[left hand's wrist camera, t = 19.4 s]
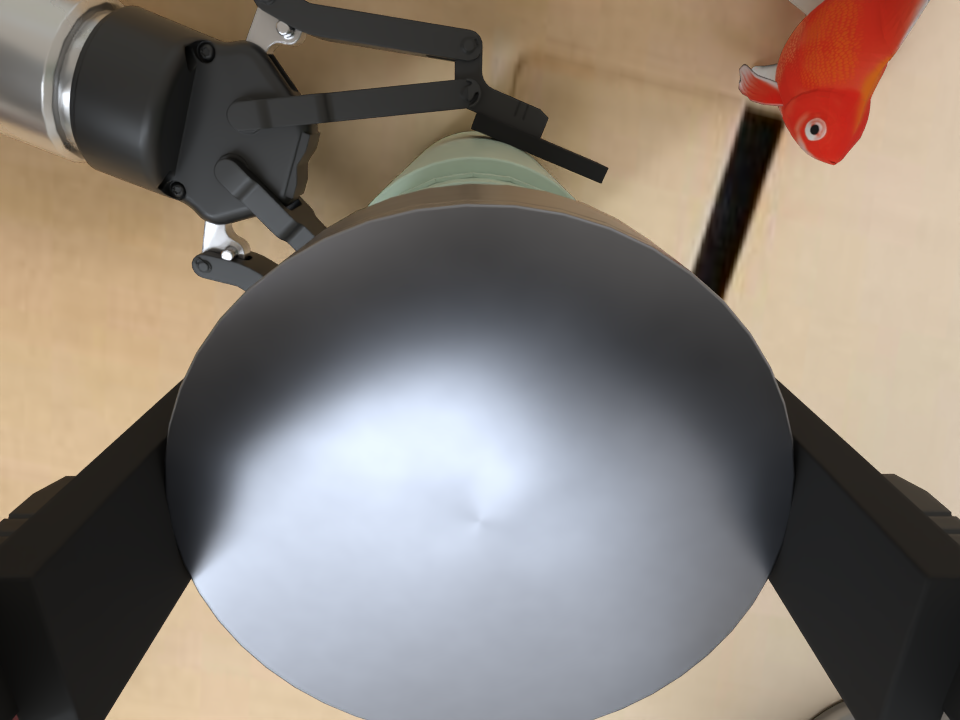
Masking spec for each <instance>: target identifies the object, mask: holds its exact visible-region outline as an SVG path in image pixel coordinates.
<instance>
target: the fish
mask: <svg viewBox="0 0 960 720" xmlns="http://www.w3.org/2000/svg"><path fill="white" fill-rule="evenodd" d="M789 1H790V2H791V3H792V4H793V5H795V6H796V7H797V8H799V9H800V10H801V11H802V12H803V13H805V14H806V17H805V18H804V19H803V20H802V21H801V22H800V23H799V25H798V26H797V27H796V29H795V30H794V31H793V33H792V34H791V36H790V37H789V39H788V41H787V42H786V44H785V46H784V48H783V50H782V53H781V55H780V58H779V61H778V63H777V64H773V65H768V66H754V67H753V68H752V69H750V68H749V67H748V66H747V65H746V64H744V65H742V67H741V68H740V69H739V71H740V81H739V90H740V91H741V93H742V94H743V95H745V96H747V97H748V98H749V99H750V100H751V101H753V102H756V103H760V104H763V105H774V106H779V110H780V112H781V115H782V117H783V120H784V123H785V125H786V127H787V128H788V130H789V131H790V133H791V135H792V137H793V138H794V140H795V141H796V142H797V144H798V145H799V146H800V147H801V148H802V149H803V150H804V151H805V152H806V153H807V154H808V155H810V156H811V157H813V158H815V159H817V160H820V161H822V162H825V163H828V164H831V165H835V164H837V163H838V162H840V161H841V160H842V159H843V158H844V157H845V156H846V154H847V153H848V152H849V151H850V149H851V148H852V147H853V146H854V145H855V144H856V142H857V141H858V140H859V139H860V138H861V135H862V133H863V131H864V129H865V126H866V123H867V120H868V116H869V111H870V99H871V97H872V94H873V92H874V90H875V88H876V86H877V84H878V82H879V80H880V78H881V77H882V75H883V73H884V71H885V69H886V66H887V63H888V61H890V59H891V58H892V57H893V56H894V54H895V53H896V52H897V50H898V49H899V47H900V46H901V44H902V43H903V41H904V40H905V38H906V37H907V35H908V34H909V32H910V31H911V29H912V27H913V26H914V24H915V23H916V21H917V20H918V18H919V17H920V15H921V14H922V12H923V10H924V9H925V7H926V6H927V4H928V2H929V1H930V0H789Z"/></svg>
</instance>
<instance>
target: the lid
mask: <svg viewBox="0 0 960 720" xmlns="http://www.w3.org/2000/svg"><path fill="white" fill-rule="evenodd" d="M164 464H165V494H166V499H167V504H168V509H169V513H170V518H171V522H172V527H173V532H174V536H175V539H176V543H177V546H178V549H179V552H180V555H181V557H182V560H183V563H184V565H185V567H186V569H187V571H188V573H189V575H190V577H191V579H192V580H193V582H194V584H195V586H196V588H197V590H198V592H199V594H200V595H201V597H202V598H203V599H204V601H205V602H206V604H207V605H208V607H209V608H210V609H211V611H212V612H213V614H214V615H215V617H216V618H217V619H218V621H219V622H220V623H221V624H222V625H223V626H224V627H225V629H226V630H227V631H228V632H229V633H230V634H231V635H232V636H233V637H234V638H235V640H236V641H237V642H238V643H239V644H240V645H241V646H242V647H243V648H244V649H245V650H247V651H248V652H249V653H250V654H251V655H252V656H253V657H255V658H256V659H257V660H258V661H259V662H260V663H261V664H263V665H264V666H265V667H266V668H267V669H269V670H270V671H272V672H273V673H275V674H276V675H278V676H279V677H280V678H282V679H283V680H285V681H286V682H288V683H289V684H291V685H292V686H293V687H295V688H297V689H299V690H301V691H302V692H304V693H306V694H308V695H310V696H312V697H314V698H315V699H317V700H319V701H321V702H323V703H325V704H327V705H329V706H332V707H334V708H337V709H339V710H341V711H344V712H346V713H349V714H351V715H353V716H356V717H359V718H362V719H366V720H594V719H597V718H599V717H602V716H605V715H607V714H610V713H613V712H616V711H618V710H621V709H623V708H625V707H627V706H629V705H631V704H633V703H635V702H638V701H640V700H642V699H644V698H646V697H648V696H650V695H652V694H654V693H655V692H657V691H658V690H660V689H662V688H663V687H665V686H666V685H668V684H670V683H671V682H673V681H674V680H676V679H678V678H679V677H681V676H682V675H683V674H685V673H686V672H687V671H688V670H690V669H691V668H692V667H693V666H695V665H696V664H697V663H699V662H700V661H701V660H702V659H704V658H705V657H706V656H707V655H708V654H709V653H710V652H712V651H713V650H714V649H715V648H716V647H717V646H718V645H719V644H720V643H721V642H722V641H723V640H724V639H725V638H726V637H727V636H728V635H729V634H730V633H731V632H732V630H733V629H734V628H735V627H736V625H737V624H738V623H739V621H740V620H741V619H742V618H743V616H744V615H745V614H746V612H747V611H748V610H749V609H750V607H751V606H752V605H753V603H754V601H755V600H756V598H757V596H758V595H759V593H760V591H761V590H762V588H763V586H764V585H765V583H766V581H767V579H768V578H769V576H770V574H771V572H772V569H773V567H774V564H775V562H776V560H777V557H778V555H779V552H780V550H781V548H782V545H783V541H784V536H785V532H786V528H787V523H788V519H789V515H790V510H791V505H792V500H793V491H794V481H795V467H794V449H793V437H792V433H791V428H790V424H789V419H788V414H787V410H786V405H785V402H784V399H783V397H782V394H781V392H780V389H779V387H778V384H777V381H776V379H775V376H774V374H773V371H772V369H771V367H770V365H769V363H768V362H767V360H766V358H765V357H764V355H763V353H762V352H761V350H760V348H759V346H758V345H757V343H756V341H755V340H754V338H753V336H752V335H751V333H750V332H749V331H748V329H747V328H746V327H745V326H744V325H743V323H742V322H741V321H740V320H739V318H738V317H737V316H736V315H735V314H734V312H733V311H732V310H731V309H730V308H729V306H728V305H727V304H726V303H725V302H724V300H722V299H721V298H720V297H719V296H718V295H717V294H716V293H715V292H713V291H712V290H711V289H710V288H709V287H708V286H707V285H706V284H704V283H703V282H702V281H701V280H700V279H699V278H698V277H697V276H695V275H694V274H693V273H692V272H691V271H690V270H688V269H687V268H686V267H684V266H683V265H682V264H680V263H679V262H678V261H676V260H675V259H674V258H672V257H671V256H670V255H669V254H667V253H666V252H665V251H663V250H662V249H661V248H659V247H658V246H657V245H655V244H654V243H653V242H651V241H650V240H649V239H647V238H646V237H644V236H643V235H641V234H640V233H638V232H637V231H635V230H634V229H632V228H631V227H629V226H628V225H626V224H625V223H623V222H622V221H620V220H618V219H617V218H614V217H612V216H610V215H608V214H606V213H604V212H602V211H600V210H598V209H595V208H593V207H591V206H589V205H587V204H585V203H582V202H579V201H576V200H573V199H569V198H566V197H563V196H560V195H556V194H553V193H550V192H547V191H541V190H535V189H529V188H523V187H517V186H511V185H491V184H462V185H453V186H443V187H434V188H427V189H423V190H419V191H415V192H411V193H407V194H403V195H399V196H395V197H391V198H389V199H386V200H384V201H381V202H379V203H376V204H374V205H371V206H369V207H366V208H364V209H361V210H359V211H356V212H354V213H353V214H351V215H349V216H347V217H346V218H344V219H342V220H340V221H339V222H337V223H335V224H333V225H332V226H330V227H328V228H326V229H325V230H323V231H322V232H320V233H319V234H318V235H317V236H315V237H314V238H313V239H311V240H310V241H309V242H307V243H306V244H305V245H304V246H302V247H301V248H300V249H298V250H297V251H296V252H294V253H293V254H292V255H291V256H289V257H288V258H287V259H285V260H284V261H283V262H281V263H280V264H279V265H278V266H276V267H275V268H274V269H272V270H271V271H270V272H269V273H267V274H266V275H265V276H264V277H262V278H261V279H260V280H258V281H257V282H256V283H255V284H253V285H252V286H251V287H249V288H248V289H247V290H246V292H245V293H244V294H243V295H242V296H241V297H240V298H239V299H238V300H237V301H236V302H235V303H234V304H233V305H232V306H231V307H230V308H229V309H228V311H227V312H226V313H225V314H224V315H223V316H222V317H221V318H220V319H219V321H218V322H217V323H216V325H215V326H214V328H213V329H212V331H211V332H210V334H209V335H208V336H207V338H206V339H205V341H204V342H203V344H202V345H201V347H200V348H199V349H198V351H197V352H196V354H195V357H194V359H193V361H192V363H191V365H190V367H189V369H188V371H187V373H186V375H185V377H184V380H183V382H182V384H181V386H180V388H179V392H178V395H177V398H176V402H175V405H174V409H173V412H172V415H171V419H170V422H169V428H168V436H167V444H166V452H165V460H164Z"/></svg>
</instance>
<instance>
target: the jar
mask: <svg viewBox="0 0 960 720" xmlns="http://www.w3.org/2000/svg"><path fill="white" fill-rule="evenodd" d="M462 184H491V185H511V186H517V187H523V188H529V189H535V190H541V191H547V192H550V193H553V194H556V195H560V196H563V197H566V198H569V199H573V200H575V199H574V198H573V197H572V196H571V195H570V194H569V193H568V192H567V191H566V190H565V189H564V188H563V187H562V186H561V185H560V184H559V183H558V182H557V181H556V180H555V179H554V178H553V177H552V176H551V175H550V174H549V173H548V172H547V171H546V170H545V169H544V168H543V167H542V166H541V165H540V164H539V163H538V162H537V161H536V160H535V159H534V158H533V157H532V156H531V155H530V154H529V153H527V152H525V151H523V150H520V149H518V148H516V147H513V146H511V145H508V144H506V143H504V142H501V141H499V140H497V139H494V138H492V137H489V136H487V135H485V134H482V133H480V132H478V131H469V132H461V133H457V134H453V135H450V136H447V137H445V138H443V139H441V140H439V141H437V142H435V143H434V144H432V145H431V146H430V147H428V148H427V149H426V150H425V151H424V152H422V153H421V154H420V155H419V156H418V157H417V158H416V159H415V160H414V161H413V162H412V163H411V164H410V165H409V166H408V167H407V168H406V169H405V170H404V171H403V172H402V173H401V174H399V175H398V176H397V177H396V178H395V179H394V180H393V181H392V182H391V183H390V184H389V185H388V186H387V187H386V188H385V189H384V190H383V191H382V192H381V193H380V194H379V195H378V196H377V197H376V198H375V199H374V200H373V201H372V202H371V203H370V204H369V205H368V207H369V206H371V205H374V204H376V203H379V202H381V201H384V200H386V199H389V198H391V197H395V196H399V195H403V194H407V193H411V192H415V191H419V190H423V189H427V188H434V187H443V186H453V185H462Z"/></svg>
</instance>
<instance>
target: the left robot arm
mask: <svg viewBox="0 0 960 720" xmlns="http://www.w3.org/2000/svg"><path fill="white" fill-rule="evenodd" d="M775 379H776V378H775ZM183 380H184V379H183ZM183 380H181V381H180V382H179V383H178V384H177V385H176V386H175V387H174V388H173V389H171V390H170V391H169V392H168V393H167V394H166V395H165V396H164V397H163V398H162V399H160V400H159V401H158V402H157V403H156V404H155V405H154V406H153V407H152V408H151V409H149V410H148V411H147V412H146V413H145V414H144V415H143V416H142V417H141V418H139V419H138V420H137V421H136V422H135V423H134V424H133V425H132V426H131V427H130V428H128V429H127V430H126V431H125V432H124V433H123V434H122V435H121V436H120V437H119V438H117V439H116V440H115V441H114V442H113V443H112V444H111V445H110V446H109V447H107V448H106V449H105V450H104V451H103V452H102V453H101V454H100V455H99V456H98V457H96V458H95V459H94V460H93V461H92V462H91V463H90V464H89V465H88V466H86V467H85V468H84V469H83V470H82V471H81V472H80V473H79V474H78V475H77V476H65V477H63V478H62V479H60V480H58V481H56V482H54V483H52V484H50V485H49V486H47V487H45V488H43V489H41V490H39V491H37V492H36V493H34V494H32V495H31V496H30V497H29V498H28V499H26V500H25V501H24V502H23V503H22V504H21V505H19V506H18V507H17V508H16V509H15V510H14V511H12V512H11V513H10V514H9V518H8V519H3V520H2V521H1V522H0V720H12V719H13V718H14V717H15V716H16V714H17V717H18V719H19V720H105V718H106V716H107V715H108V713H109V712H110V710H111V708H112V707H113V705H114V703H115V702H116V700H117V699H118V697H119V695H120V694H121V692H122V690H123V689H124V687H125V686H126V684H127V682H128V681H129V679H130V677H131V676H132V674H133V673H134V671H135V669H136V668H137V666H138V664H139V663H140V661H141V660H142V658H143V656H144V655H145V653H146V651H147V650H148V648H149V647H150V645H151V643H152V642H153V640H154V638H155V637H156V635H157V634H158V632H159V630H160V629H161V627H162V625H163V624H164V622H165V621H166V619H167V617H168V616H169V614H170V612H171V611H172V609H173V608H174V606H175V604H176V603H177V601H178V599H179V598H180V596H181V595H182V593H183V591H184V590H185V588H186V586H187V585H188V583H189V582H190V580H191V577H190V575H189V573H188V571H187V569H186V567H185V565H184V563H183V560H182V557H181V555H180V552H179V549H178V546H177V543H176V539H175V536H174V532H173V527H172V522H171V518H170V513H169V509H168V504H167V499H166V494H165V464H164V460H165V452H166V444H167V436H168V428H169V422H170V419H171V415H172V412H173V409H174V405H175V402H176V398H177V395H178V392H179V388H180V386H181V384H182V382H183ZM776 381H777V384H778V387H779V389H780V392H781V394H782V397H783V399H784V402H785V405H786V410H787V414H788V419H789V424H790V428H791V433H792V437H793V449H794V467H795V481H794V491H793V500H792V505H791V510H790V515H789V519H788V523H787V528H786V532H785V536H784V541H783V545H782V548H781V550H780V552H779V555H778V557H777V560H776V562H775V564H774V567H773V569H772V572H771V574H770V576H769V578H768V579H769V581H770V582H771V584H772V585H773V587H774V589H775V590H776V592H777V594H778V595H779V597H780V598H781V600H782V602H783V603H784V605H785V607H786V608H787V610H788V611H789V613H790V615H791V616H792V618H793V620H794V621H795V623H796V624H797V626H798V628H799V629H800V631H801V633H802V634H803V636H804V637H805V639H806V641H807V642H808V644H809V646H810V647H811V649H812V650H813V652H814V654H815V655H816V657H817V659H818V660H819V662H820V663H821V665H822V667H823V668H824V670H825V672H826V673H827V675H828V676H829V678H830V680H831V681H832V683H833V685H834V686H835V688H836V689H837V691H838V693H839V694H840V696H841V698H842V699H843V701H844V702H841V703H839V704H837V705H835V706H833V707H831V708H830V709H828V710H826V711H825V712H823V713H822V714H820V715H819V716H817V717H816V718H815V719H814V720H960V519H959V518H958V517H956V516H952V515H951V512H950V511H949V510H948V509H947V508H946V507H945V506H943V505H942V504H941V503H940V502H939V501H938V500H936V499H935V498H934V497H933V496H932V495H931V494H929V493H928V492H927V491H925V490H923V489H921V488H919V487H918V486H916V485H914V484H912V483H910V482H908V481H906V480H904V479H903V478H901V477H899V476H897V475H895V474H881V473H880V472H879V471H877V470H876V469H875V468H874V467H873V466H872V465H871V464H870V463H869V462H868V461H866V460H865V459H864V458H863V457H862V456H861V455H860V454H859V453H858V452H857V451H855V450H854V449H853V448H852V447H851V446H850V445H849V444H848V443H847V442H845V441H844V440H843V439H842V438H841V437H840V436H839V435H838V434H837V433H836V432H834V431H833V430H832V429H831V428H830V427H829V426H828V425H827V424H826V423H825V422H823V421H822V420H821V419H820V418H819V417H818V416H817V415H816V414H815V413H813V412H812V411H811V410H810V409H809V408H808V407H807V406H806V405H805V404H804V403H802V402H801V401H800V400H799V399H798V398H797V397H796V396H795V395H794V394H792V393H791V392H790V391H789V390H788V389H787V388H786V387H785V386H784V385H783V384H781V383H780V382H779V381H778V380H777V379H776Z"/></svg>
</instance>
